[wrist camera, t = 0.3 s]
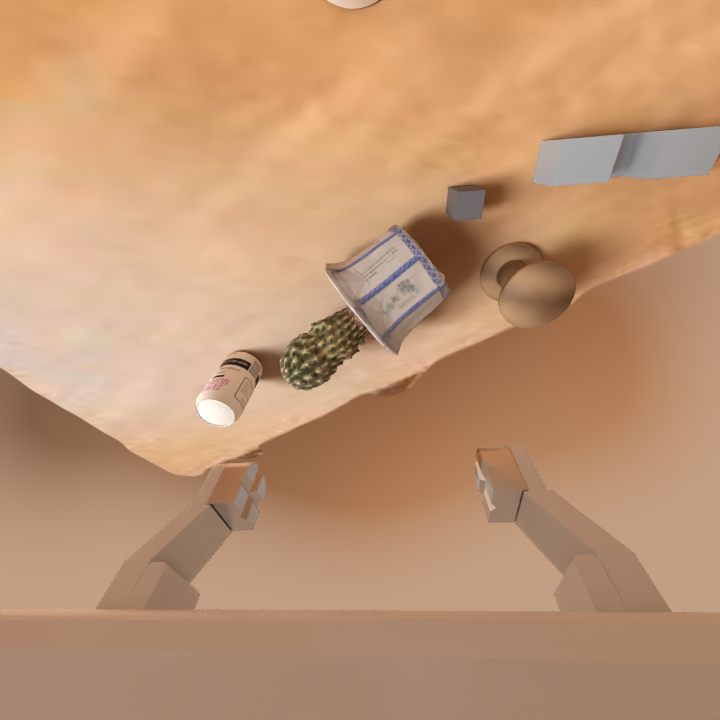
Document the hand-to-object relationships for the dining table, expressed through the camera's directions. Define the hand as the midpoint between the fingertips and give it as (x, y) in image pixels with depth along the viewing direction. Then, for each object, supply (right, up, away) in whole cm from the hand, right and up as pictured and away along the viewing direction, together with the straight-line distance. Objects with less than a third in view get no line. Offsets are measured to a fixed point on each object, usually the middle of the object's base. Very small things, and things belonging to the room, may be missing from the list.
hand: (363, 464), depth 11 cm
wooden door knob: (+26, +19, +41) cm, 52 cm away
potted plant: (-1, +16, +45) cm, 48 cm away
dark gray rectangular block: (+15, +29, +35) cm, 48 cm away
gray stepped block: (+35, +33, +31) cm, 57 cm away
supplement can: (-26, +3, +56) cm, 61 cm away
